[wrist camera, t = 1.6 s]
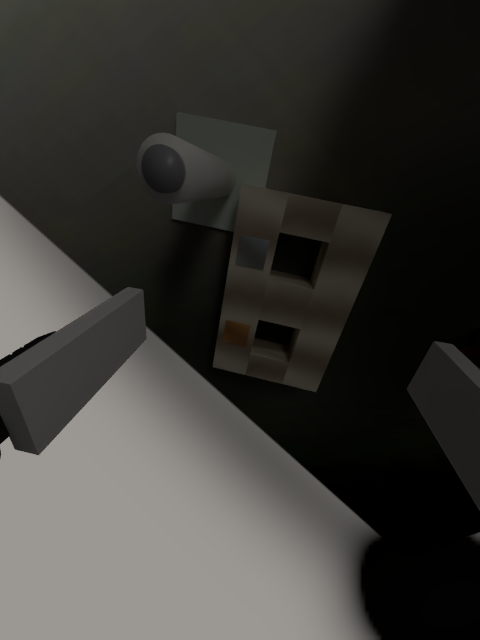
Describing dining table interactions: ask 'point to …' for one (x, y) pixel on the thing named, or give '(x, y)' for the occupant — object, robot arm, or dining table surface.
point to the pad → (239, 151)
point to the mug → (473, 349)
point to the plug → (182, 171)
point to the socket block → (292, 284)
